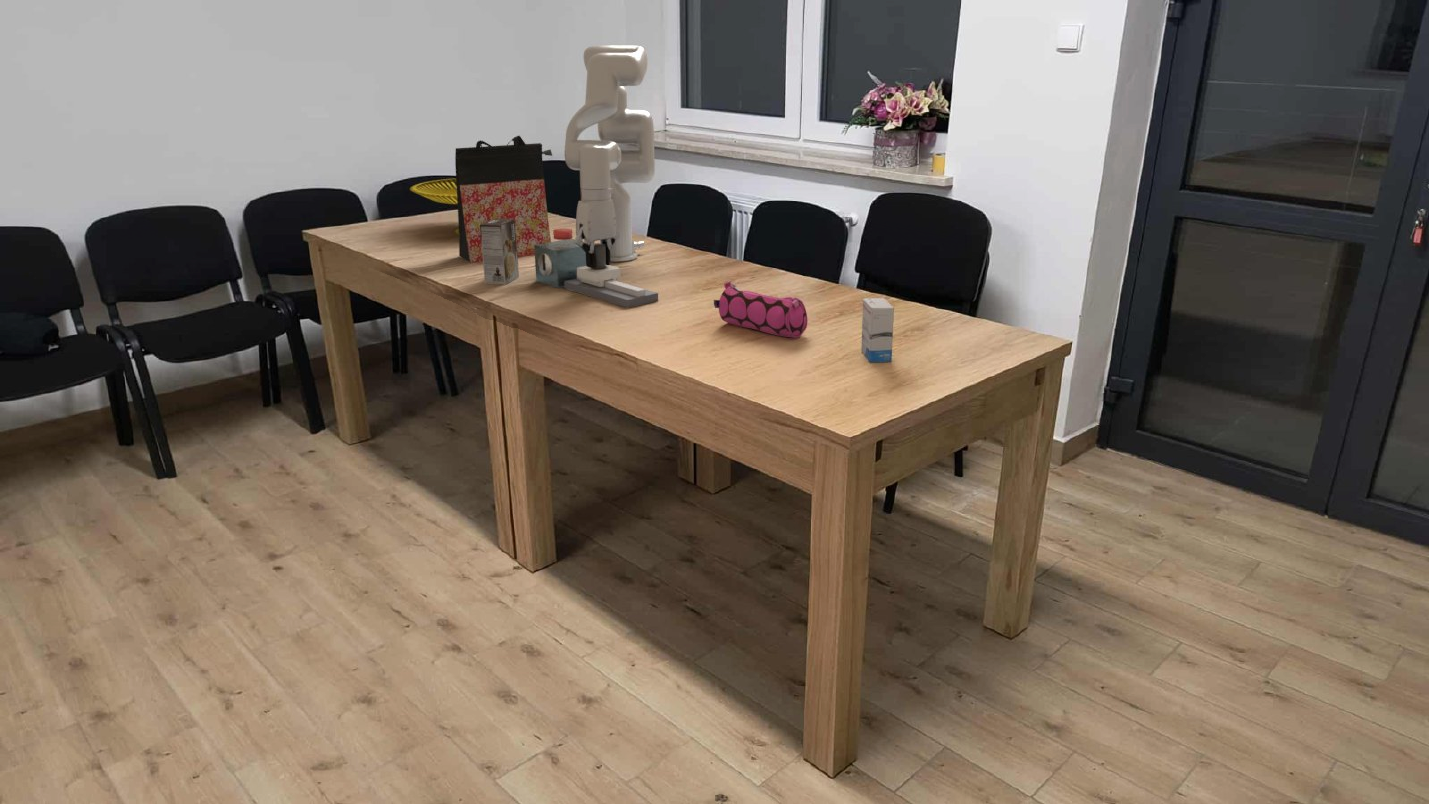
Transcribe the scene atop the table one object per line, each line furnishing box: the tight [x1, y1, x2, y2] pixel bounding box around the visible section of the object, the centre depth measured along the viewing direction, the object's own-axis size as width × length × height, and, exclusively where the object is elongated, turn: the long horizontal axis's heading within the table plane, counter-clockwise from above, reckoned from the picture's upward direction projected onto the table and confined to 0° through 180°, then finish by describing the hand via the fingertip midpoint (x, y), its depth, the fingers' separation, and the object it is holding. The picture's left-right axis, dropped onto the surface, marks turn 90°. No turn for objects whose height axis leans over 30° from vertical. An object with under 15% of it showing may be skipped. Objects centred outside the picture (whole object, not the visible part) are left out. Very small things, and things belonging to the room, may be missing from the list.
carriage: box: [577, 242, 622, 287], centre depth 254 cm, size 8×8×10 cm
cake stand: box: [409, 178, 459, 235], centre depth 326 cm, size 40×40×15 cm
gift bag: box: [454, 135, 553, 263], centre depth 290 cm, size 29×14×35 cm, turn 122°
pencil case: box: [713, 280, 809, 339], centre depth 223 cm, size 21×10×10 cm, turn 53°
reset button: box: [552, 228, 573, 241], centre depth 262 cm, size 5×5×2 cm
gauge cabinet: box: [534, 238, 586, 289], centre depth 264 cm, size 13×10×10 cm
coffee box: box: [480, 219, 520, 285], centre depth 264 cm, size 9×6×16 cm
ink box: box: [860, 297, 895, 363], centre depth 206 cm, size 9×5×12 cm, turn 5°
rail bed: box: [564, 277, 659, 309], centre depth 253 cm, size 10×26×4 cm, turn 44°
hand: (598, 265), depth 254 cm, fingers closed on carriage, 4 cm apart
